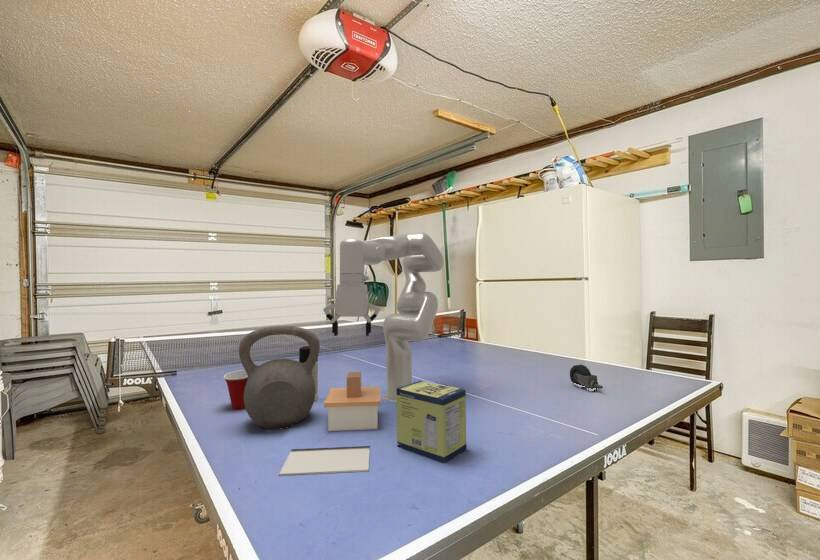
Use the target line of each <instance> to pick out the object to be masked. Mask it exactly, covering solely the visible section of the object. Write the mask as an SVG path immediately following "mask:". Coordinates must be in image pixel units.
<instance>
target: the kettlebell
mask: <svg viewBox="0 0 820 560" xmlns="http://www.w3.org/2000/svg"><path fill="white" fill-rule="evenodd" d="M280 335H283V336H284V335H286V336H295V337H298V338H300V339H302V340H304V341H305V342H306V343H307V344H308V346H310V354H309V357H308V359H307V361H306V362H304V363H300V362H299V360H295V359H291V358H276V359H275V358H274V359H271V360H268V361H266V362H263V363H261V364H260V365H259V364H258V365H257V364H255V362H254V361H253V360H252V358H251V354H250V353H251V347H252V346H253V345H254V344H255V343H256V342H258V341H259V340H261V339H264V338H267V337H269V336H271V337H272V336H280ZM238 347H239V348H238V353H239V355H238V356H239V359H240V362H241V366H242V367H243V368H244V369H243V370H245V371H246V373H247V375H248V380H247V383H246V386H245V391H244V404H245V408H244V409H245V411H246V413H247V415H248V417H249V418H250V419H251V421H252V422H253V423H255V424H257V425H258V426H259V427H262V428H264V429H266V428H268V429H267V430H281V429H280V428H283V429H286V427H288V428H291V427H292V426H293V425H295V424H298V423H300V422H302V421H303V420H305V418H306V417H307V416H308V414H309V413H310V412H311V410H312V408H313V405H314V402H315V401H314V398H315V383H314V379H313V376H312V370H313V367H314V365H315V363H316V361H317V358H318V359H319V354H320V350H321V349H320V347H321V345H320V340H319V338H318V336H317V335H316V333H314V332H313V331H311V330H309V329H307V328H304V327H300V326H291V325H275V326H265V327H262V328H258V329H255V330H253V331H251V332H249V333H247V334H246V335H244V336H243V338H242V339H241V341H240V343H239V346H238Z"/></svg>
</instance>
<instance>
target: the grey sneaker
mask: <svg viewBox="0 0 820 560" xmlns="http://www.w3.org/2000/svg"><path fill="white" fill-rule="evenodd" d="M569 378H570V381H571V383H572V382H573V383H576V384H579V385H582V386H585V389H586V388H588V389H589V388H591V389H593V388H596V389H597V388H598V389H600V390H601V389H603V385H601V384H599V382H598V376H597V375H595V374H592V373H591V371H590V369H589V368H588V367H587V366H586V365H583V364H575V365H573V366H572V367H571V368H570V370H569ZM573 383H572V384H573Z"/></svg>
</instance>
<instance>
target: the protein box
mask: <svg viewBox="0 0 820 560" xmlns="http://www.w3.org/2000/svg"><path fill="white" fill-rule="evenodd" d="M396 389H397V402H396V444H397V445H396V446H397V448H400V449H402V450H406V451H408V452H412V453H414V454H417V455H419V456H423V457H424V458H425V457H426V458H427V459H431V460H434V461H437V462H439V463H442V464H446V462H448V461H450V460H451V459H453V458H455V457H456V456H458V455H459V454H460V453H462V452H464V451H465V450H467V448H468V446H467V445H468V444H467V409H466V408H467V407H466V405H467V404H466V403H467V400H466V395H467V394H466V389H465V388H459V387H456V386H448V385H443V384H439V383H433V382H428V381H424V380H419V381H415V382H412V384H409V385H406V386H403V387H399V388H396Z"/></svg>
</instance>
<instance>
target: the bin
mask: <svg viewBox="0 0 820 560" xmlns="http://www.w3.org/2000/svg"><path fill="white" fill-rule="evenodd" d="M378 409H379V406H352V407H327V411H328V412H327V413H328V414H327V416H328V418H327V419H328V420H327V421H328V422H327V423H328V425H327V426H328V428H327V429H328V430H327V431H329V432H333V431H337V432H338V431H359V430H361V431H362V430H363V431H364V430H378V426H379V425H378V421H379V420H378V419H379V418H378V413H379V411H378Z"/></svg>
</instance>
